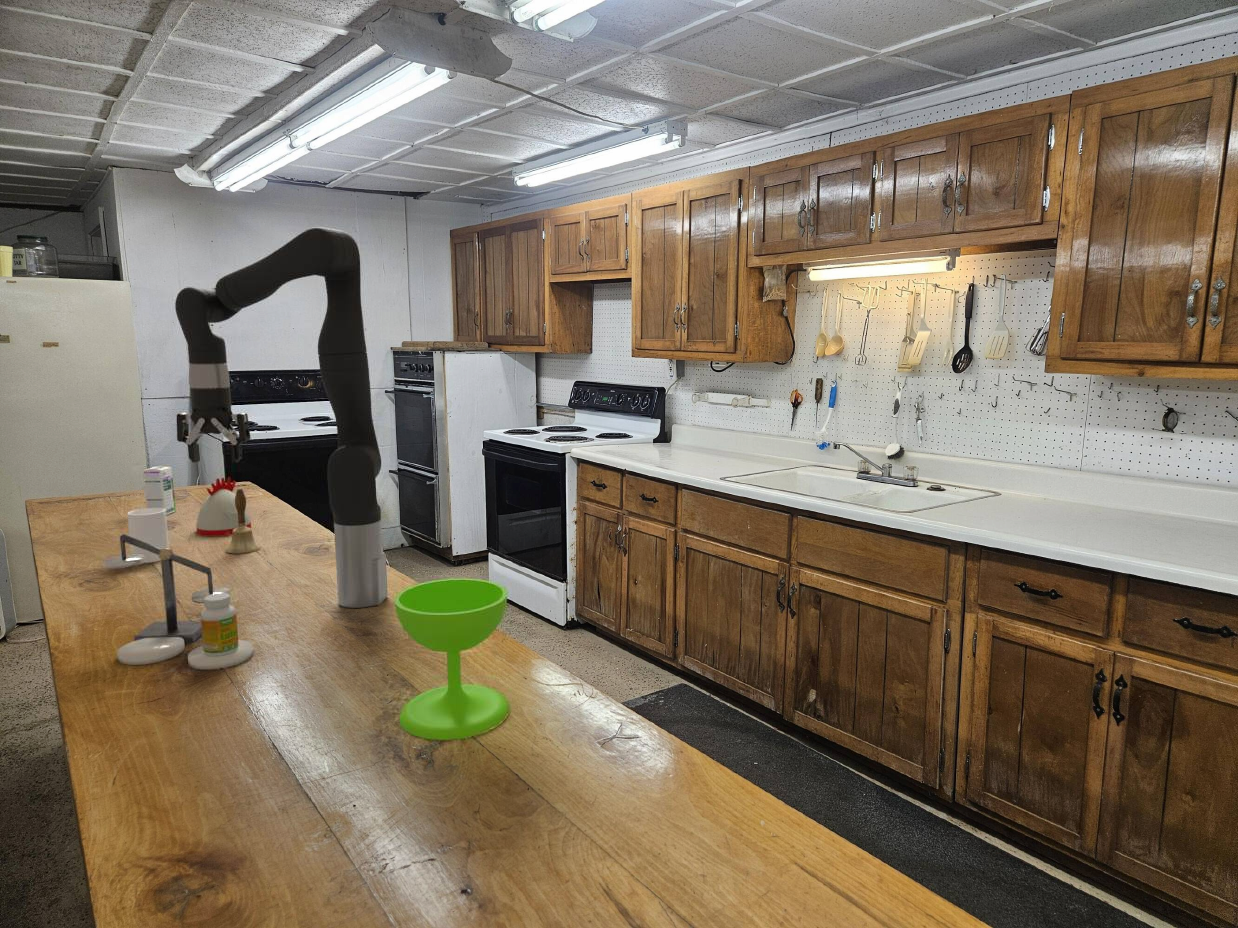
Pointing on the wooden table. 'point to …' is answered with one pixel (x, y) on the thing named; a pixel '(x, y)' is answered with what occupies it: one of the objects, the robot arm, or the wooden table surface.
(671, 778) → the wooden table surface
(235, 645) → the supplement bottle
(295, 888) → the wooden table surface
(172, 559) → the balance
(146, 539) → the mug
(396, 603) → the wineglass
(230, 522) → the white chicken dome
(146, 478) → the syrup box
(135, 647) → the dish high side
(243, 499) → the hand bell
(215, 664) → the dish low side
